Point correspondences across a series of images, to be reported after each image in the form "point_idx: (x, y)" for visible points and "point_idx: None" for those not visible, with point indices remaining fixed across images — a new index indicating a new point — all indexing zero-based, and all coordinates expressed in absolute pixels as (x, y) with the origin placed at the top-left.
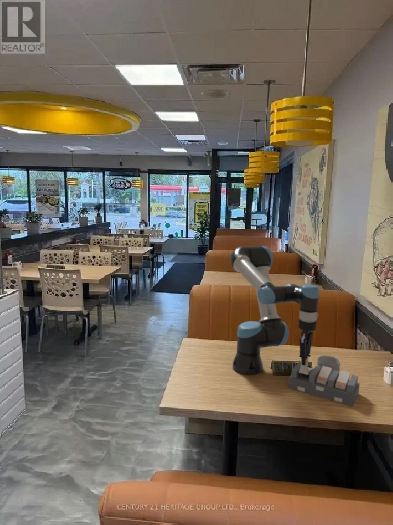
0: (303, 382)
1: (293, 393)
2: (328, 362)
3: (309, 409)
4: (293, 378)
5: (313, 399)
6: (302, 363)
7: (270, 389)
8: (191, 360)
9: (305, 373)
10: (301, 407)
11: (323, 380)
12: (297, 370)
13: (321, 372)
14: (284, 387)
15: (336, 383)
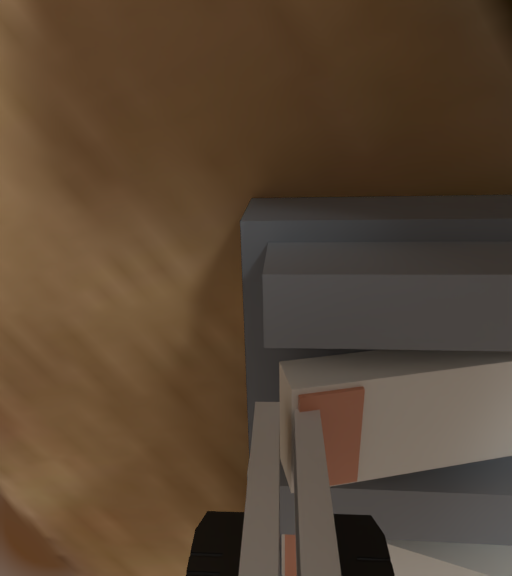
0: (246, 374)
1: (181, 272)
2: None
3: (48, 422)
4: (248, 275)
5: (193, 414)
6: (196, 552)
7: (103, 58)
8: None
9: (280, 439)
10: (30, 377)
11: (289, 563)
12: (290, 347)
13: (413, 564)
14: (235, 166)
15: None
